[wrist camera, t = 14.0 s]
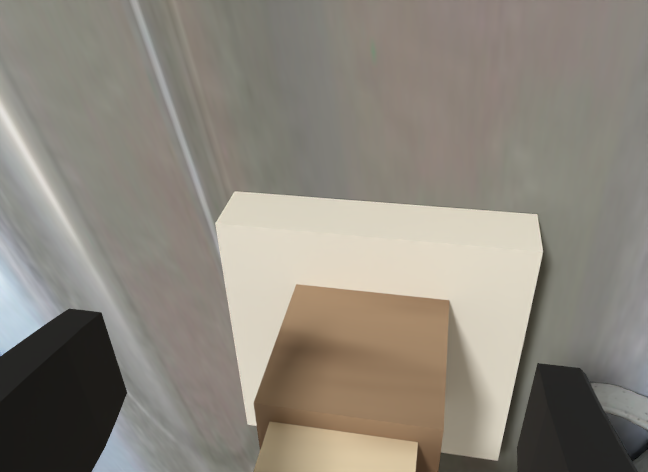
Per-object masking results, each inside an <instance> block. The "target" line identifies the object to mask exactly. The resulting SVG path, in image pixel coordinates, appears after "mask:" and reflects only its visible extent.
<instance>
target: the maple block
mask: <svg viewBox="0 0 648 472" xmlns="http://www.w3.org/2000/svg"><path fill="white" fill-rule="evenodd" d="M417 448H418V442H412V441H405V440H398V439H391V438H384V437H377V436H370V435H362V434H355V433H348V432H341V431H334V430H327V429H320V428H313V427H306V426H298V425H291V424H284V423H277V422H269V425H268V428H267V431H266V434H265V438H264V441H263V444H262V447H261V450H260V453H259V456H258V459H257V462H256V465H255V469H254V472H416V460H417Z"/></svg>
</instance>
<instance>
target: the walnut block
mask: <svg viewBox="0 0 648 472" xmlns="http://www.w3.org/2000/svg"><path fill="white" fill-rule="evenodd" d="M448 321H449V300H442V299H433V298H423V297H414V296H404V295H395V294H385V293H376V292H366V291H357V290H347V289H338V288H328V287H318V286H309V285H299V284H296V286H295V289H294V292H293V294H292V297H291V300H290V303H289V305H288V308H287V311H286V314H285V317H284V319H283V322H282V325H281V328H280V331H279V333H278V336H277V339H276V342H275V344H274V347H273V350H272V353H271V356H270V358H269V361H268V364H267V367H266V369H265V372H264V375H263V378H262V381H261V383H260V386H259V389H258V392H257V395H256V397H255V400H254V410H255V417H256V424H257V431H258V438H259V445H260V450H261V447H262V444H263V441H264V438H265V434H266V431H267V428H268V425H269V422H277V423H284V424H291V425H298V426H306V427H313V428H320V429H327V430H334V431H341V432H348V433H355V434H362V435H370V436H377V437H384V438H391V439H398V440H405V441H412V442H418V448H417V460H416V472H438V469H439V462H440V454H441V447H442V439H443V432H444V413H445V390H446V367H447V344H448Z"/></svg>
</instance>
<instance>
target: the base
mask: <svg viewBox="0 0 648 472" xmlns="http://www.w3.org/2000/svg"><path fill="white" fill-rule="evenodd" d="M215 224H216V230H217V237H218V243H219V249H220V255H221V262H222V268H223V274H224V280H225V286H226V293H227V299H228V305H229V311H230V317H231V324H232V330H233V336H234V342H235V349H236V355H237V361H238V367H239V373H240V380H241V386H242V392H243V398H244V404H245V411H246V417H247V423H248V425H254V426H257V424H256V417H255V410H254V400H255V397H256V395H257V392H258V389H259V386H260V383H261V381H262V378H263V375H264V372H265V369H266V367H267V364H268V361H269V358H270V356H271V353H272V350H273V347H274V344H275V342H276V339H277V336H278V333H279V331H280V328H281V325H282V322H283V319H284V317H285V314H286V311H287V308H288V305H289V303H290V300H291V297H292V294H293V292H294V289H295V286H296V284H299V285H309V286H318V287H328V288H338V289H347V290H357V291H366V292H376V293H385V294H395V295H404V296H414V297H423V298H433V299H442V300H449V321H448V344H447V367H446V390H445V413H444V432H443V439H442V447H441V453H448V454H455V455H462V456H469V457H476V458H482V459H489V460H496V461H498V457H499V453H500V448H501V443H502V439H503V434H504V430H505V425H506V420H507V416H508V411H509V407H510V402H511V397H512V393H513V388H514V384H515V379H516V374H517V370H518V365H519V361H520V356H521V351H522V347H523V342H524V338H525V333H526V328H527V324H528V319H529V315H530V310H531V305H532V301H533V296H534V292H535V287H536V282H537V278H538V273H539V269H540V264H541V259H542V255H543V247H542V241H541V235H540V229H539V222H538V216H537V214H526V213H513V212H500V211H487V210H474V209H461V208H447V207H434V206H421V205H408V204H395V203H382V202H368V201H355V200H342V199H329V198H316V197H303V196H290V195H276V194H263V193H250V192H237V191H235V192H234V193H233V195H232V197H231V198H230V200H229V202H228V203H227V205H226V207H225V208H224V210H223V212H222V213H221V215H220V217H219V218H218V220H217V222H216V223H215Z"/></svg>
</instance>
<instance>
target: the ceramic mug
mask: <svg viewBox="0 0 648 472" xmlns="http://www.w3.org/2000/svg"><path fill="white" fill-rule="evenodd" d="M590 384H591V386H592V388H593V390H594V392H595V394H596V396H597V398H598V400H599V402H600V404H601V406H602V408H603V410H604V412H607V413H610V414H613V415H616V416H621V417H623V418H625V419H627V420H628V421H630V422H632V423H634V424H636V425H638V426H640V427H642V428H644V429H646V430H648V398H647V397H645V396H642V395H639V394H636V393H635V392H633V391H630V390H626V389H623V388H622V387H620V386H616V385H611V384H604V383H590ZM633 464H634V466H635V467H636V469H637V471H638V472H648V449H647V450H646V451H645V452H644V453H643V454H642V455H640V456H639V457H638V458H637V459H635V460H634V461H633Z"/></svg>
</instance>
